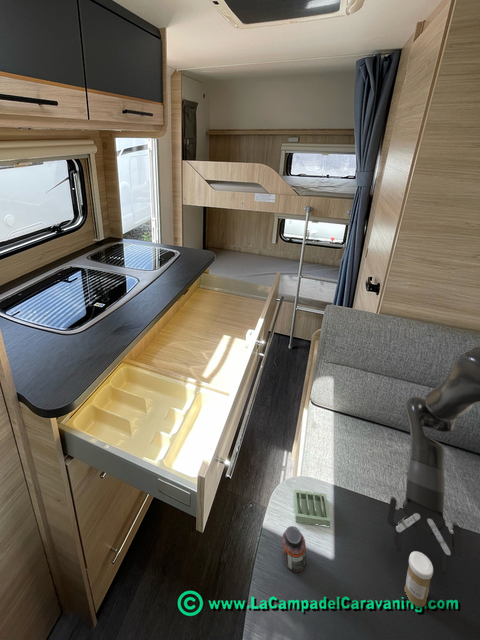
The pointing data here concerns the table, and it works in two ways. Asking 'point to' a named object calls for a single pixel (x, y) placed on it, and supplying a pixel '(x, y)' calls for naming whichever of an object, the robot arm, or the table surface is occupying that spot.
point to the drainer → (311, 509)
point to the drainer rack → (313, 504)
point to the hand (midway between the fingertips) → (420, 560)
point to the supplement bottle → (294, 549)
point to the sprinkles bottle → (418, 578)
